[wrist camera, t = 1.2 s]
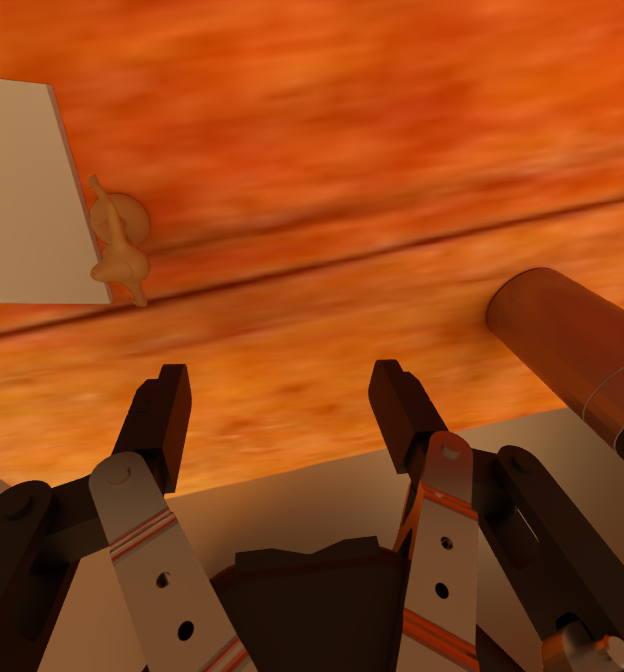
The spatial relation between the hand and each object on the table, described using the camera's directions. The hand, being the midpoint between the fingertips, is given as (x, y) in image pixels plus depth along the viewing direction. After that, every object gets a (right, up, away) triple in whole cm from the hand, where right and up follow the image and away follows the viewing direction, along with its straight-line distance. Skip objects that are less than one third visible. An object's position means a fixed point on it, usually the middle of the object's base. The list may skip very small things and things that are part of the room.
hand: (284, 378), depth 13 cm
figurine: (-13, +12, +14) cm, 22 cm away
